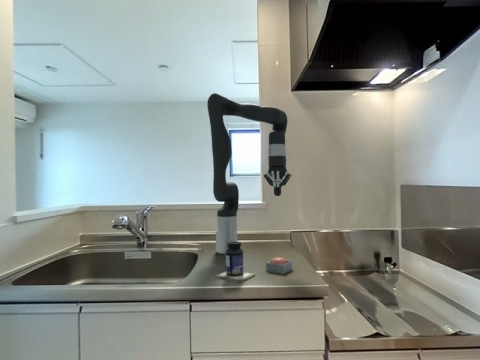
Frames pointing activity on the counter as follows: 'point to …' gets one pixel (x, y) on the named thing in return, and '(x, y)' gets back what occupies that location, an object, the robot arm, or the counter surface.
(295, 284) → the counter surface
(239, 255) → the pill bottle
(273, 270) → the button collar
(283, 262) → the button
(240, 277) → the picture frame
